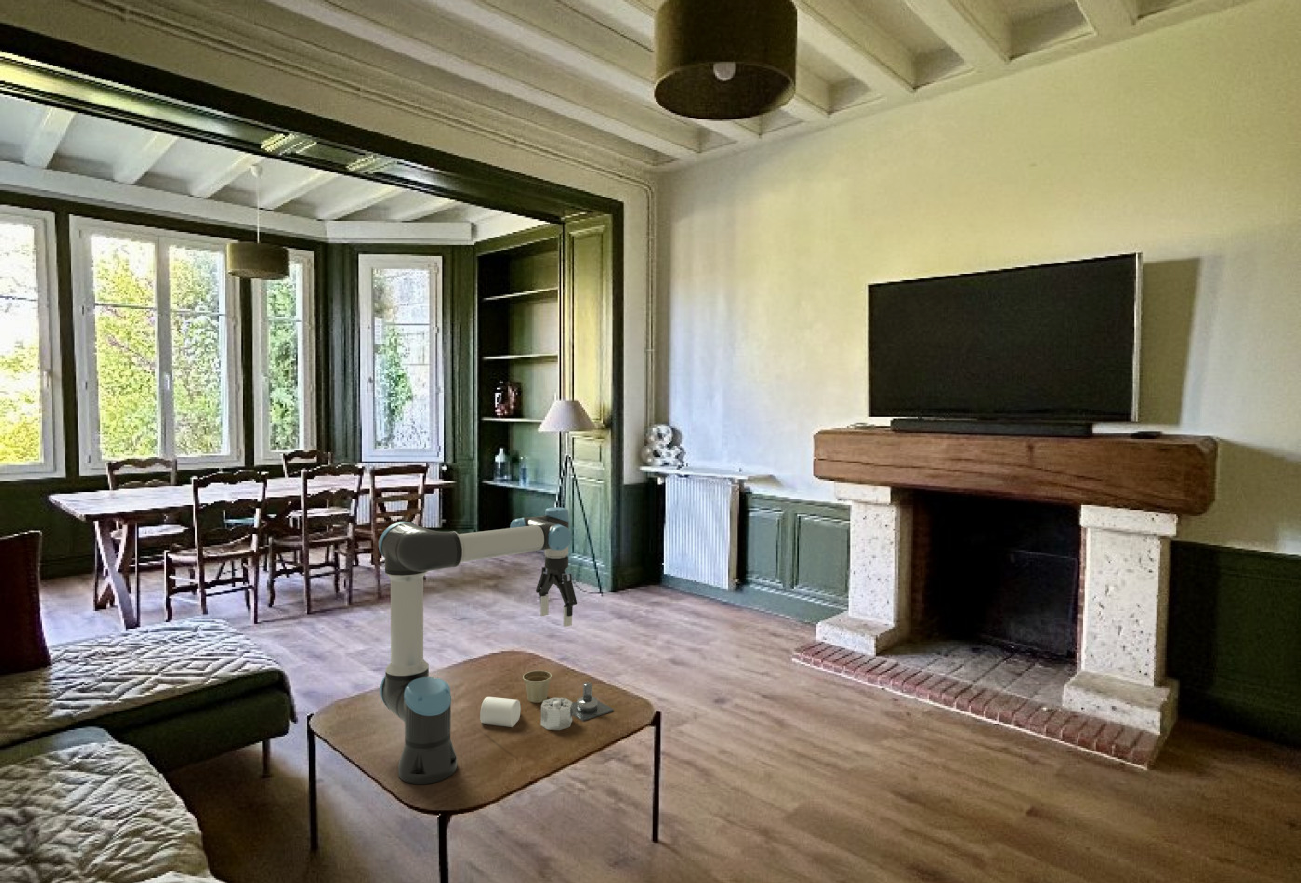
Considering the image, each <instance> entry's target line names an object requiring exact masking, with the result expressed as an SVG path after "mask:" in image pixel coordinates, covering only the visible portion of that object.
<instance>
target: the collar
mask: <svg viewBox="0 0 1301 883" xmlns="http://www.w3.org/2000/svg"><path fill="white" fill-rule="evenodd" d="M554 701H560V702H561V707H553V702H554ZM572 703H573V701H571V700H570V699H567V698H566V697H552V698H547V699H546V700H544V701H543V702H541V705H540V726H541V727H543V729H546V730H552V731H561V730H565V729H567V728H570V727H571V724H572V723H573V715H572Z"/></svg>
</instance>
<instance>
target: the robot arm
mask: <svg viewBox="0 0 1301 883" xmlns="http://www.w3.org/2000/svg"><path fill="white" fill-rule="evenodd" d="M509 526H510V527H506V528H500V529H492V530H484V531H475V532H466V533H458V532H457V531H454V530H452V531H439V530H437V531H436V530H433V529H429V528H426V527H423V526H419V525H418V524H416V523H414V522H408V521H399V522H395V523H392V524H390V525H389V526H388V527H387V528H386V529H384V531H382V533H381V535H380V537H379V541H378V550H379V552H380V555H381V556H382V557H383V558H384V574H385V575H386V576H388V578H389V580H390V663H389V664H388V665H386V667H385V671H384V672H385V673H384V676H383V677H382V679H381V681H380V684H379V696H380V699H381V701H382V703H383V704H384V706H385V707H386V708H387V709H388V710H389V711H391V712H392V713H394V715H395V716H396V717H398V718H399V719H400V720H401V721H402V722H404V747H403V750H402V752H401V756H400V758H399V762H398V765H397V766H398V767H397V774H398V777H399V779H400V780H401V781H403V782H405V783H408V784H414V785H427V784H434V783H437V782H440V781H443V780H445V779H447V778H450V776H452V775H453V774H454V773H455V772H456V771H457V769H458V757H457V753H456V751H455V749H454V748H455V747H454V745H453V742H452V739H451V722H452V720H451V719H452V718H451V717H452V716H451V714H452V713H451V709H452V707H451V706H452V695H451V689H450V685H449V684H448V683H447V682H446V681H445V679H441V678H439V677H434V676H429V675H430V670H429V669H430V665H429V662H427V661H426V660H425V659H424V577H425V576H426V574H427V573H429V571H430V572H431V571H432V572H433V571H438V570H443V569H449V568H456V567H459V566H460V565H461V563H463V562H470V561H475V560H476V561H477V560H484V559H489V558H490V559H492V558H496V557H505V556H510V555H516V554H522V553H530V552H537V551H544V566H543V567H541V572H540V573H541V574H540V576H539V580H538V583H537V586H536V588H535V591H536V593H538V595H539V599H540V600H539V602H540V603H539V604H540V606H539V607H540V608H539V609H540V611H539V612H540V617H545V616H548V615H550V614H549V602H550V600H549V598H550V597H549V592H550V590H551V588H552V587H553V585H554V586H556V588H557V589H559V592H560V595H561V597H562V599H563V602H564V605H563V627H565V628H566V627H570V626H572V625H573V614H574V613H573V612H574V611H573V609H574V608H573V607H574V606H575V605H576V606H577V604H578V601H577V597H576V593H575V588H574V584H573V580H572V574H571V573H567V574H566V569H567V568H568V567H569V556H568V555H569V545H570V544H571V540H572V533H571V531H570V529H569V526H570V516H569V511H568V509H567V508H565V507H555V506H554V507H548V508H546V509H545V511H544V515H539V516H531V517H520V518H515V519H513V520H512V522H510V525H509Z"/></svg>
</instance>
